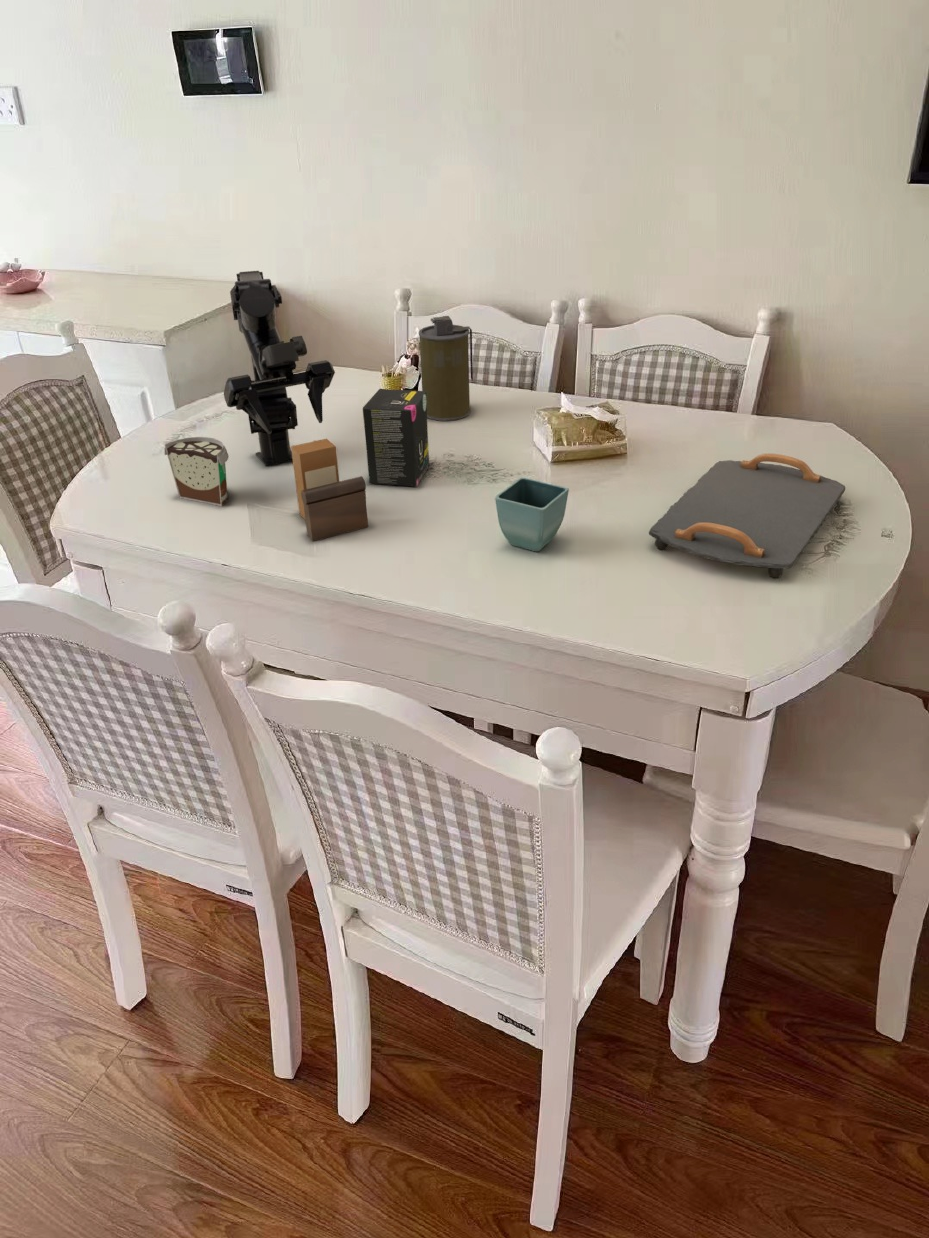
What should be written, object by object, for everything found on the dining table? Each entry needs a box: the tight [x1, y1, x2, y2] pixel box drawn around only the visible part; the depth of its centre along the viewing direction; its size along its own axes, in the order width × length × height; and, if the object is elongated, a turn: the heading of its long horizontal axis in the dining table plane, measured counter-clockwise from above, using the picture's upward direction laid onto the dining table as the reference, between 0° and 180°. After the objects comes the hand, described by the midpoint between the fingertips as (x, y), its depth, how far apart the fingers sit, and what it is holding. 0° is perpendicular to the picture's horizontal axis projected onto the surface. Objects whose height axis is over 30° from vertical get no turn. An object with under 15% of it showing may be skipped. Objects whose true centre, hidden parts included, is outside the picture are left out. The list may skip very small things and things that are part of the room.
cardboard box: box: [290, 438, 340, 520], centre depth 163 cm, size 4×6×12 cm, turn 119°
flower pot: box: [494, 477, 570, 552], centre depth 153 cm, size 9×9×9 cm
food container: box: [163, 436, 230, 507], centre depth 171 cm, size 12×6×10 cm, turn 65°
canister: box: [418, 315, 474, 422], centre depth 201 cm, size 11×10×20 cm
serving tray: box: [648, 453, 846, 580], centre depth 158 cm, size 39×23×6 cm, turn 148°
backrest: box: [301, 476, 369, 542], centre depth 158 cm, size 2×10×9 cm, turn 119°
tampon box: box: [362, 388, 430, 487], centre depth 176 cm, size 11×9×15 cm
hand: (296, 427), depth 165 cm, fingers open, 9 cm apart
